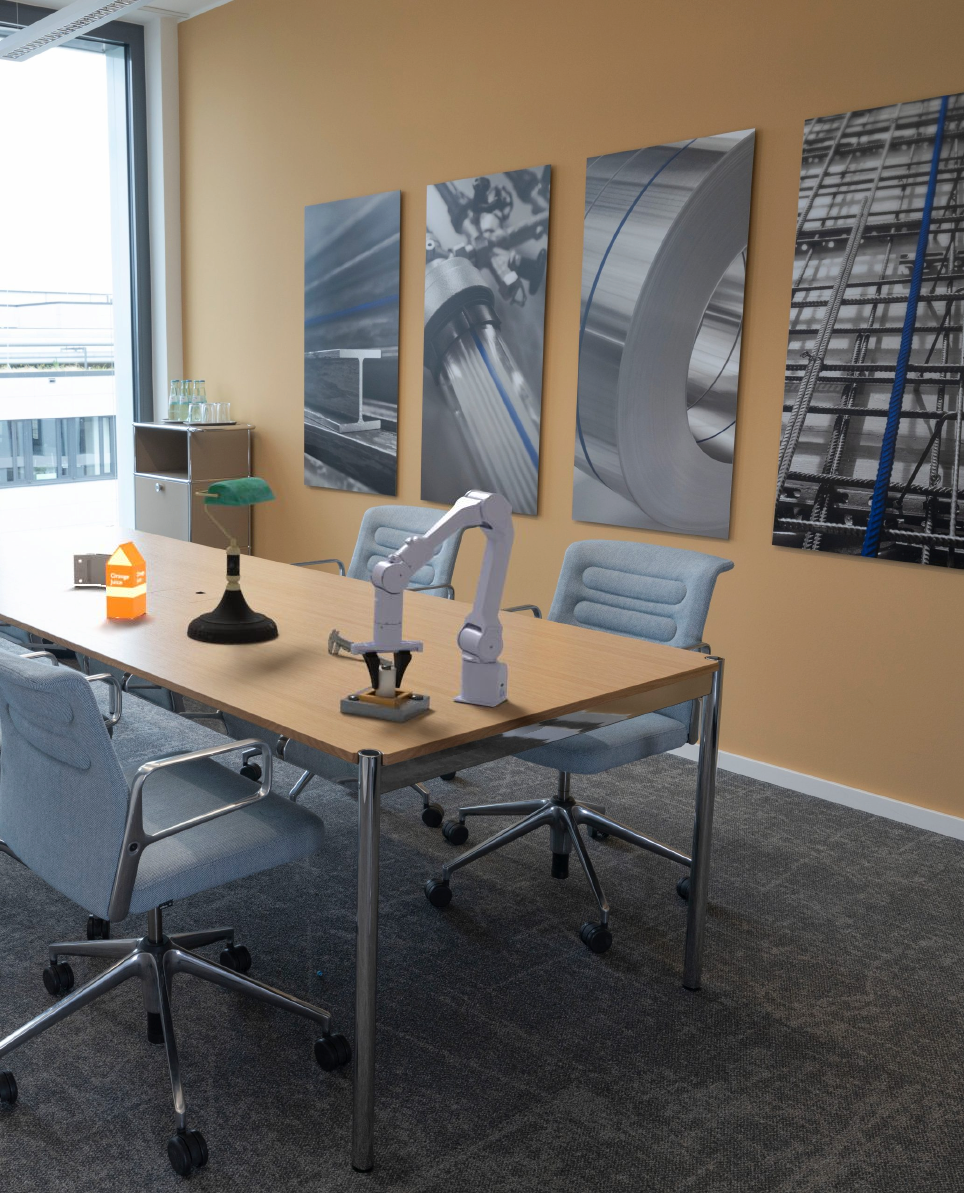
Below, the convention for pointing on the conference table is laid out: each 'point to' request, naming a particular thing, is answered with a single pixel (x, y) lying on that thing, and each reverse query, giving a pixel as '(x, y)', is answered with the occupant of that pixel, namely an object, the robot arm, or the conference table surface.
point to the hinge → (90, 568)
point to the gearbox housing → (385, 705)
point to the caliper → (348, 646)
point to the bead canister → (386, 682)
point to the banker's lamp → (234, 574)
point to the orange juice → (126, 582)
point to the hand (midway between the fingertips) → (385, 687)
